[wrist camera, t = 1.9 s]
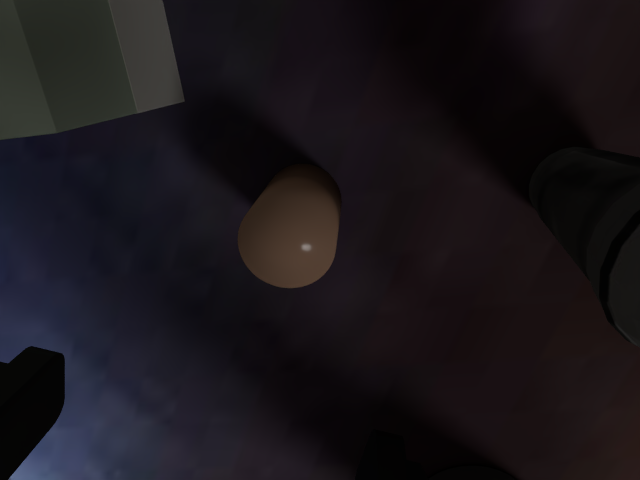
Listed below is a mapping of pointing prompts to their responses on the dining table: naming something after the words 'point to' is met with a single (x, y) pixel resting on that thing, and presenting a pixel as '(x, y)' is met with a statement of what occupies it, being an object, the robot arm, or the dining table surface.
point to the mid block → (59, 67)
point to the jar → (292, 227)
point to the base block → (147, 52)
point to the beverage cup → (596, 224)
